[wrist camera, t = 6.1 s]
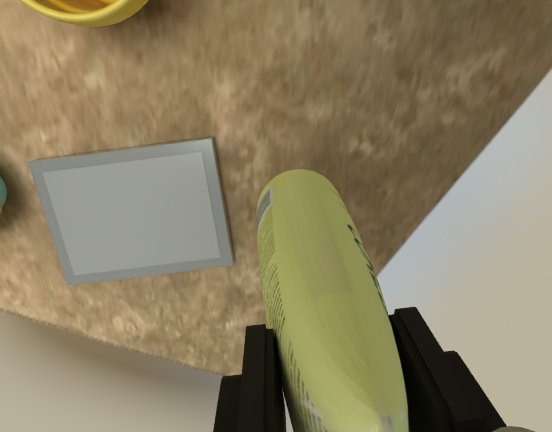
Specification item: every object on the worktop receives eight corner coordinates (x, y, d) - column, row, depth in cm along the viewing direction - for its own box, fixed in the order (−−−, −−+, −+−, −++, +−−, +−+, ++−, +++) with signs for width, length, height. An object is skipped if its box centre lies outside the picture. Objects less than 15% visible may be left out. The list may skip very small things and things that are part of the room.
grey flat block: (213, 136, 36) (211, 138, 35) (234, 258, 40) (233, 265, 39) (37, 159, 37) (27, 162, 35) (74, 278, 41) (67, 286, 39)
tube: (366, 211, 24) (677, 656, 6) (308, 269, 25) (411, 792, 7) (295, 148, 23) (401, 462, 4) (237, 213, 24) (133, 672, 6)
